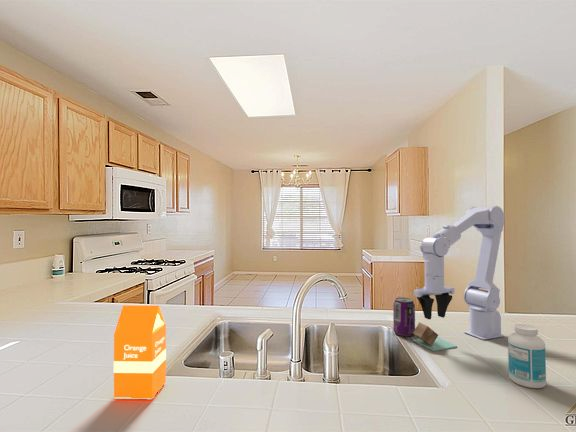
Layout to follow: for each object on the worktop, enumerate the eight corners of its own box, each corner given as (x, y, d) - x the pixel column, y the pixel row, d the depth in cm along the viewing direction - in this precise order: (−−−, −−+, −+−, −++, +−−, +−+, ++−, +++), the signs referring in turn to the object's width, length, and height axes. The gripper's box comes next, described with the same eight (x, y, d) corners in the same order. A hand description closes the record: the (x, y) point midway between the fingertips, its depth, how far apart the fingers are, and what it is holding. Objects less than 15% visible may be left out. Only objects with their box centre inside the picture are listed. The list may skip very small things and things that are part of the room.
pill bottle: (539, 377, 83) (538, 323, 83) (551, 392, 76) (551, 333, 76) (504, 373, 86) (504, 320, 86) (513, 386, 79) (513, 330, 79)
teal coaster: (435, 337, 111) (435, 336, 111) (457, 347, 103) (457, 346, 103) (413, 340, 108) (413, 339, 108) (433, 351, 100) (433, 349, 100)
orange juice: (130, 382, 81) (130, 301, 82) (166, 383, 81) (166, 301, 81) (113, 400, 74) (113, 310, 74) (152, 400, 73) (152, 310, 73)
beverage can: (416, 338, 111) (416, 302, 111) (394, 336, 112) (394, 301, 112) (413, 331, 118) (413, 297, 118) (392, 329, 119) (392, 296, 119)
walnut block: (429, 330, 108) (419, 322, 107) (438, 335, 104) (427, 326, 103) (423, 341, 107) (412, 332, 106) (431, 345, 103) (420, 337, 102)
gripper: (442, 271, 112) (442, 312, 112) (407, 274, 107) (407, 316, 107) (459, 275, 105) (459, 318, 105) (422, 278, 100) (422, 322, 100)
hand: (434, 317), depth 106 cm, fingers open, 5 cm apart
